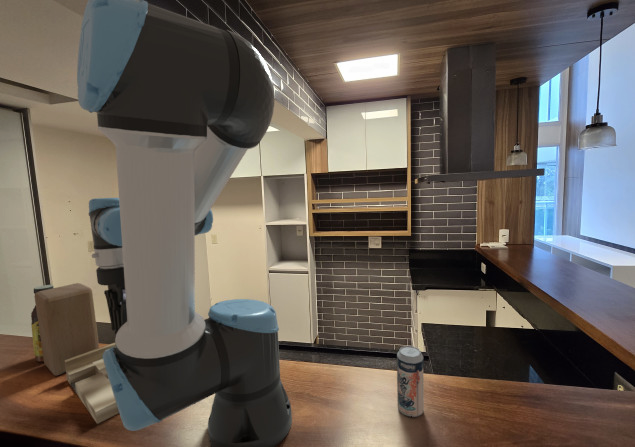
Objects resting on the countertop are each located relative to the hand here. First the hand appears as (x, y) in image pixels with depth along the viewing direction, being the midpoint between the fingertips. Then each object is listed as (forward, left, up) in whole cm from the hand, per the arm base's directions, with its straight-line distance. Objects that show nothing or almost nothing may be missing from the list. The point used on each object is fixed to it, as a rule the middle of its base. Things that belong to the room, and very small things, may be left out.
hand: (126, 360), depth 74 cm
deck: (-1, +4, -4) cm, 6 cm away
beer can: (-58, -29, -4) cm, 65 cm away
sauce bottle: (+29, +10, -4) cm, 31 cm away
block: (+20, +7, -4) cm, 21 cm away
